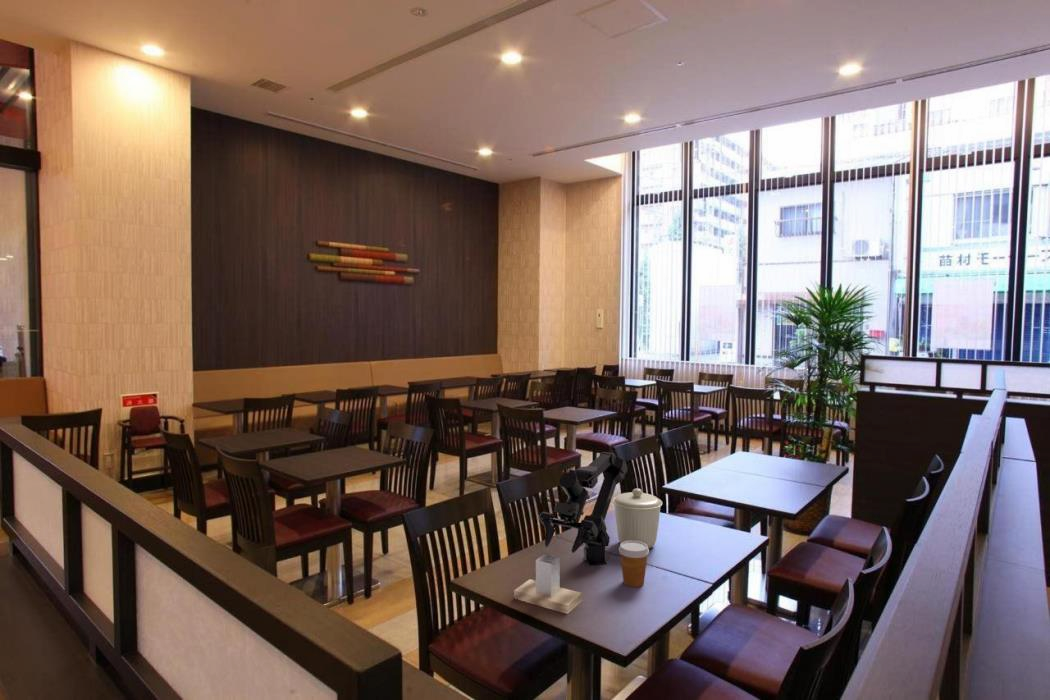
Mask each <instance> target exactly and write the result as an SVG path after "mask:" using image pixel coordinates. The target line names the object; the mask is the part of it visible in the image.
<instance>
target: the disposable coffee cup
mask: <svg viewBox="0 0 1050 700" xmlns="http://www.w3.org/2000/svg"><path fill="white" fill-rule="evenodd" d="M649 549H650V548H649ZM649 549H648V546H647V545H646V544H645V543H643V542H639V541H625V542H622V543H620V545H619V547H618V551H619V553H620V562H621V563H620V564H621V570H622V581H623V584H624V585H625V586H628V587H630V588H631V587H632V588H640V587H642V586H644V585H645V578H646V570H647V561H648V555H649V553H650V550H649Z"/></svg>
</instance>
